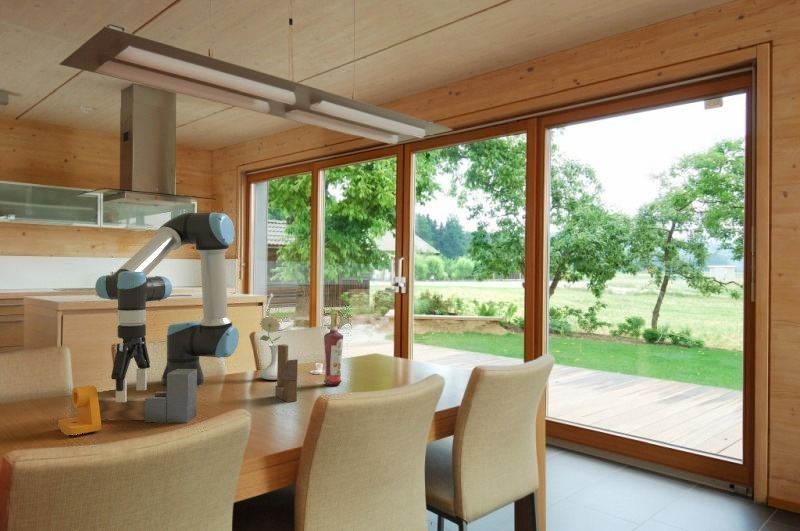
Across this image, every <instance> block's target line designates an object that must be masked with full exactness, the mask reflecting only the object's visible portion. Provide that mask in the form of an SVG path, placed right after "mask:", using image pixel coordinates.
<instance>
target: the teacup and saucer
mask: <svg viewBox="0 0 800 531" xmlns="http://www.w3.org/2000/svg"><path fill="white" fill-rule="evenodd" d="M323 365H324V364H323V363H322V362H317V363H315V370H311V371H309V373H310V374H313V375H325V369H324V368H323V367H324V366H323Z"/></svg>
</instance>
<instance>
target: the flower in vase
mask: <svg viewBox="0 0 800 531" xmlns="http://www.w3.org/2000/svg"><path fill="white" fill-rule="evenodd" d="M259 326H261V328H262V330H263V331H265V332H267V333H268V336H267V335H262V336H261V337H260V339H259V340H262V341H265V342H267V341H269V340H270V341H271V343H269V344H268V347H269V349H270V353H271V361H270V363H269V364H268V365H267V366H266V367H265V368H264V369H263V370H262V371H261V372H260V373H259V378H262V379H264V380H269V381H277V363H278V345H281V344H282V343H274V342H276V341H277V340H279V339H280V338H281V336H282V335H280V336H278V337H275V338H274V339H273V340H272V339H271V338H270V333H271V334H273V333H276V332H278V331H279V330H280V329H281V323H280V321H279V320H278V319H277V318H275V317H274V316H270V315H269V316H265V317H262V318H261V320H260V323H259Z"/></svg>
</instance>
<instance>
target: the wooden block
mask: <svg viewBox="0 0 800 531" xmlns="http://www.w3.org/2000/svg"><path fill="white" fill-rule="evenodd" d="M280 344H281V345H278V354H277V361H278V363H277V380H276V385H275V390H274V393H275V394H274V395H275V396H276V397H277V398H279V399H280V400H283V401H284V402H286V403H294V402H297V400H298V365H299V364H298V362H299V361H298V358H297V359H289V344H285V343H284V344H282V343H280Z"/></svg>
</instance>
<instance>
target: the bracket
mask: <svg viewBox="0 0 800 531" xmlns="http://www.w3.org/2000/svg"><path fill="white" fill-rule="evenodd" d="M98 397H99V395H98V389H97V387H96V386H95V385H94V384H92V385H86V386H79V387H78V386H77V387H73V388H72V391H71V403H72V406H73V407H74V409H78V411H77V415H76V416H74V417H70V418H69V417H67V418H62V419H59V420H57V423H58V424H57V427H58V429H60V430H62V431H63V432H65V433H67V434H70V435H73V436H77V434H78V435H82V433H83V434H87V433H92V432H97V431H101V430H102V420H101V417H100V409H99V401H98Z"/></svg>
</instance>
